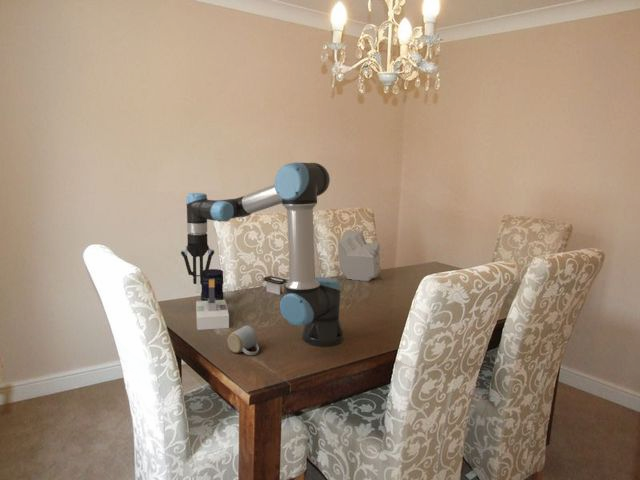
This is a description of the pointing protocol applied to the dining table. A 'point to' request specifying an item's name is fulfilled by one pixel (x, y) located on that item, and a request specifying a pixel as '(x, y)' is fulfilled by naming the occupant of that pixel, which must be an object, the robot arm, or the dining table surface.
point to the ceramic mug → (243, 340)
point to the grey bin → (275, 284)
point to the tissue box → (358, 257)
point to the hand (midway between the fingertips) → (198, 291)
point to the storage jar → (218, 284)
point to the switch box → (212, 315)
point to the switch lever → (211, 290)
